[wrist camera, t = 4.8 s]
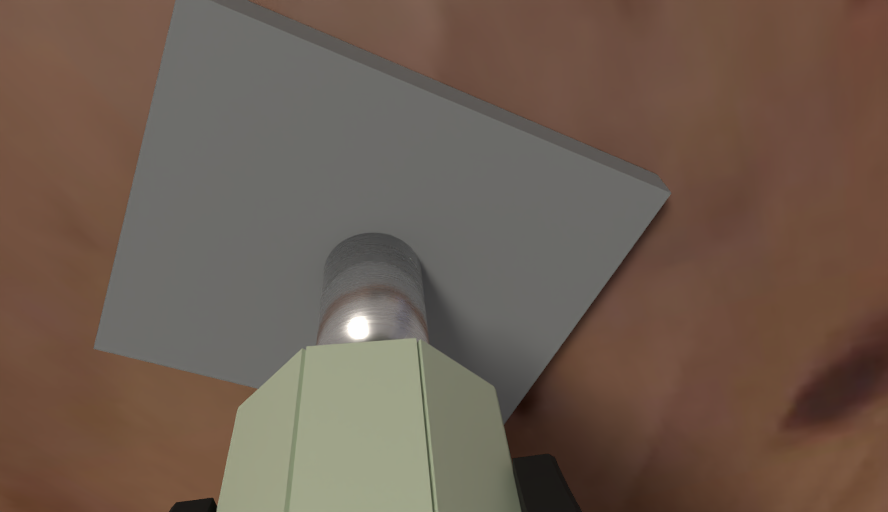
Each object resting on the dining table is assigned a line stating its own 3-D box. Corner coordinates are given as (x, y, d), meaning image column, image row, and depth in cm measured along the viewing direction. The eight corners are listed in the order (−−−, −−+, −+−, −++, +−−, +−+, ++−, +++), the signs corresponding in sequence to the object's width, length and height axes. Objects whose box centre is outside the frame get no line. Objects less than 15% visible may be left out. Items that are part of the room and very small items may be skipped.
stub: (436, 250, 17) (450, 343, 14) (398, 321, 18) (403, 420, 15) (343, 219, 16) (338, 310, 13) (310, 295, 17) (298, 393, 14)
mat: (657, 174, 17) (671, 192, 16) (485, 421, 22) (489, 444, 21) (190, -24, 14) (179, -13, 13) (106, 324, 18) (93, 348, 18)
